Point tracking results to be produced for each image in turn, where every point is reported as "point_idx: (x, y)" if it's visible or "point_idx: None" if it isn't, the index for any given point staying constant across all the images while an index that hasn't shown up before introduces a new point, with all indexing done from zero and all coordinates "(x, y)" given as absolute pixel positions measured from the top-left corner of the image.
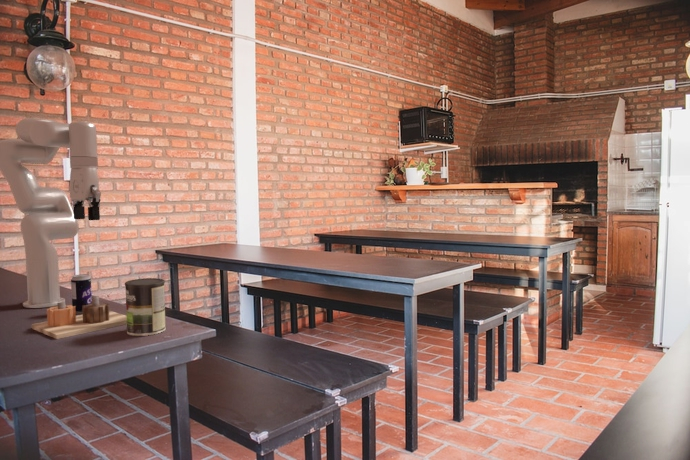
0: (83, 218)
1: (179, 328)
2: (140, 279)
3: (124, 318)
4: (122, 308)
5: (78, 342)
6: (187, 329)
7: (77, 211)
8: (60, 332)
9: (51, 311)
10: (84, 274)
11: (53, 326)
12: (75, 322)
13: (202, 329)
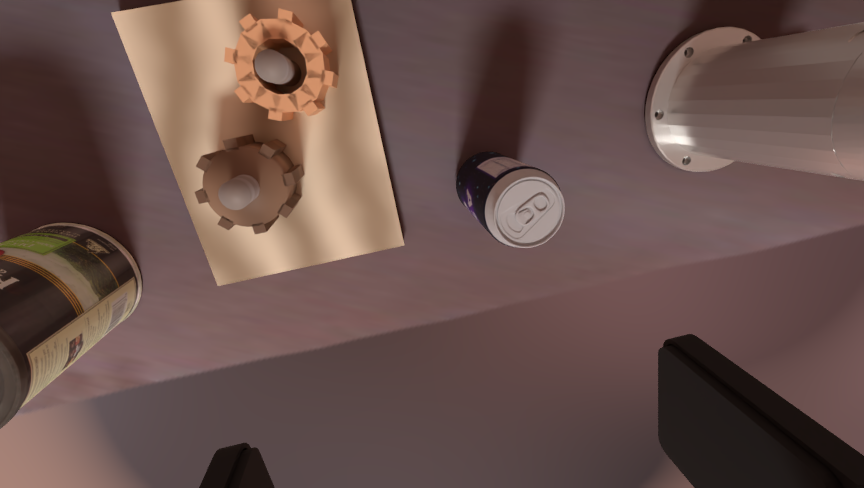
0: (660, 432)
1: None
2: (2, 372)
3: (235, 258)
4: (449, 295)
5: (33, 67)
6: None
7: (740, 450)
8: (141, 32)
9: (243, 19)
10: (552, 233)
11: None
12: None
13: None
